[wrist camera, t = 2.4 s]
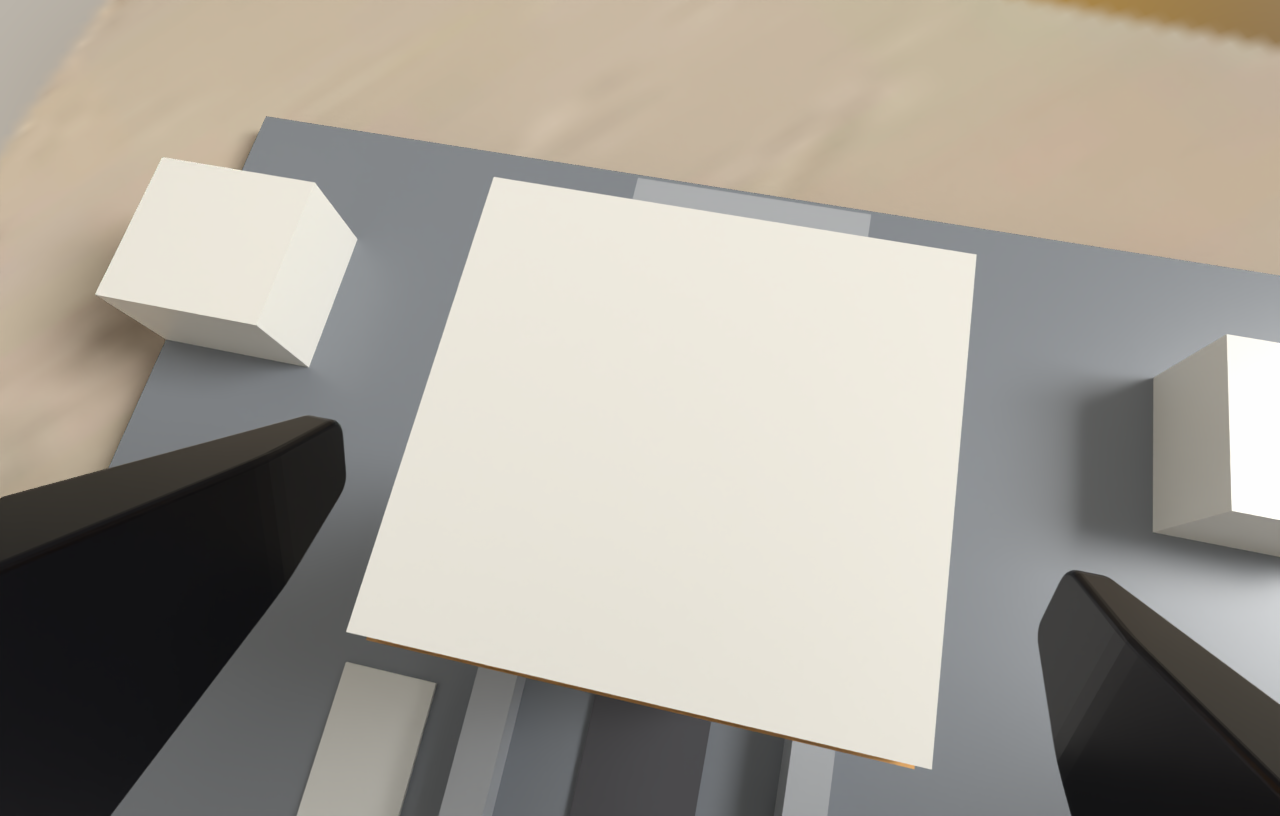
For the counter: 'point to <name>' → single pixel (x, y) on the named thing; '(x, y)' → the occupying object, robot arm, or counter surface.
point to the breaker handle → (688, 468)
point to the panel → (619, 730)
